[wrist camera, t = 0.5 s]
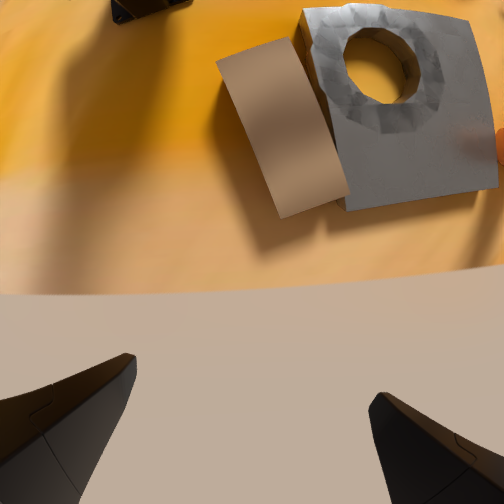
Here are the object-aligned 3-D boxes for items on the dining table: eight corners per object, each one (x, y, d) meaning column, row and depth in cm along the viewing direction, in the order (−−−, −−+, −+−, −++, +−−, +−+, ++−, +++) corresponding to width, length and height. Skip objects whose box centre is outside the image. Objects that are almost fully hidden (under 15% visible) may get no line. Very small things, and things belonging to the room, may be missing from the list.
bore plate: (293, 18, 17) (297, 5, 14) (451, 25, 15) (467, 17, 13) (333, 205, 21) (342, 212, 19) (481, 182, 20) (498, 187, 18)
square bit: (223, 77, 18) (215, 61, 14) (282, 56, 18) (288, 36, 14) (276, 204, 22) (280, 219, 18) (333, 184, 21) (350, 194, 17)
